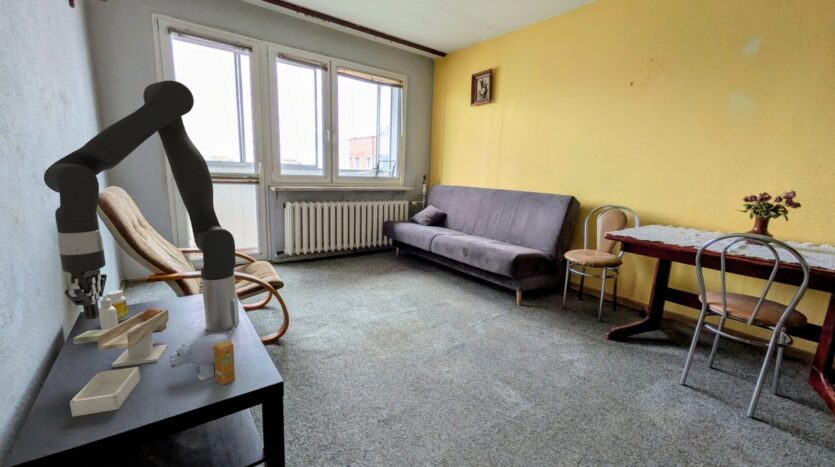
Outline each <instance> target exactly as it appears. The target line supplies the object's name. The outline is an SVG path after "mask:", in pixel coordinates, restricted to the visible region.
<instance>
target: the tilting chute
mask: <svg viewBox="0 0 835 467" xmlns="http://www.w3.org/2000/svg"><path fill="white" fill-rule="evenodd" d="M159 310H160V313H159V314H157V315H156V316H154V317H152V318H151V319H149V320H146V319H145V318H144V316H143V315H144V312H145V311H141V312H139V313H138V314H136V315H133V316H132V317H129V318H127V319H125V320H123V321H122V322H120V323H118V325H117V326H115V327H113V328H111V329H102V330H101V329H93V330H87V331H85V332H83V333H81V334H79V335H77V336H75V337H73V344H74V345H75V344H76V345H77V344H86V343H94V342H95V343H97V351H105V350H106V351H107V350H114V349H115V350H116V349H124V348H127V347H132V346H134V345H135V344H136V343H138V342H139V341H141V340H142V339H143V338H145V337H146V336H148V335H149V334H154V333H162V332H164V331H165V330H166V329H167V323H168V322H169V309H159Z"/></svg>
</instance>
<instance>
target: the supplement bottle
mask: <svg viewBox="0 0 835 467" xmlns="http://www.w3.org/2000/svg"><path fill="white" fill-rule="evenodd" d="M106 296H107V298H110V299H111V304H112V306H113V307H114V308H115V309H116V314H117V320H118V322H121V321H122V322H123V321H125V320H127V319H129V318H128V317H129V311H128V309H129V308H128V303H127V298H126V296H124V292H123V290H122V289H121V290H120V289H117V290H110V291H108V292H106Z"/></svg>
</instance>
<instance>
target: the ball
mask: <svg viewBox="0 0 835 467" xmlns="http://www.w3.org/2000/svg"><path fill="white" fill-rule="evenodd" d="M160 310H161V309H159V308H158V307H148V308H147V309H145V310H144V311H143V312H144V315H143V316H144V318H145V319H146V320H149V319H151V318H152V317H154V316H156V315H157V314H159V313H160Z"/></svg>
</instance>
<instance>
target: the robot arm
mask: <svg viewBox="0 0 835 467" xmlns="http://www.w3.org/2000/svg"><path fill="white" fill-rule="evenodd" d="M142 97H143V102H144V104H143V105H142V106H140V107H139V108H138V109H136V110H134V111H133V112H132V113H130V114H128V115H126V116H125V117H122V118H121V119H120V120H118V121H116V122H114V123H112V124H111V125H109V126H107V127H106V128H104V129H103V130H101V131H100V132H98V133H97V134H96V135H95V136H93V137H92V138H91V139H90V140H88V141H87V142H86V143H85V144H84V145H83V146H81V147H80V148H78V149H76V150H74V151H72V152H70V153H68V154H66V155H64V156H63V157H61V158H60V159H58V160H56V161H55V162H53V164H51V165H50V166H49V167H47V169H46V170H45V171H44V174H43V181H44V183H45V186H46V187H48V188H49V189H50V190H52V191H53V192H55V193H58V194H59V206H58V207H57V208H56V209H55V213H54V214H55V215H54V216H55V217H54V218H55V225H56V230H57V245H58V251H59V257H60V264H61V270H62V271H63V272H65V273H68V274H70V283H71V287H70V289H68V288H67V289H65V290H64V295H65V296H66V297H67V298H68V299H69V300H70V301H71V302H72V303H73V304H74V305H75V306H76V307H77V306H82V308H83V314H84V318H85V320H95V319H96V318H98V317H99V303H98V302H100V298H102V297H103V296H104V290H105V287H106V282H107V278H108V276H107V274H106V273H103V274H102V273H101V269H102V268H104V267H105V266H106V265H107V263H106V256H105V250H104V244H103V243H104V242H103V237H102V234H101V232H100V226H99V217H98V213H97V209H98V205H99V196H100V195H99V194H100V185H99V178H98V177H97V175H99V174H100V173H102V172H103V171H108V170H111V169H113V168H115V167H116V166H118V165H119V164H120V163H121V162H122V161H124V160H125V159H126V158H127V157H128V156H129V155H131V154H132V153H133V152H134V151H135V150H136V149H137V148H139V147H140V146H141V145H142V144H143V143H144V142H146V141H147V140H148V139H149V138H150V137H152V136H154V134H156V133H158V136H159V138H160V142H161V143H162V146H163V150H164V153H165V156H166V157H167V161H168V163H169V167H170V170H171V173H172V176H173V179H174V181H175V184H176V185H175V186H176V188H177V190H178V193H179V195H180V198H181V199H182V200H181V201H182V203H183V205H184V207H185V210H186V212H187V213H188V217H189V221H190V225H191V230H192V235H193V238H194V243H195V246H196V248H197V249H198V250H199V251H201V252H202V261H203V263H202V264H203V266H202V267H201V269H200V276H201V286H202V287H201V288H202V299H203V300H202V301H203V307H204V308H203V310H204V317H205V319H204V320H205V328H206V330H207V331H210V332H223V331H227V330H230V329H233V327H235V328H237V326H238V323H239V321H240V313H239V311H240V310H239V302H238V301H239V300H238V293H237V292H236V281H235V268H236V262H237V261H236V243H235V239H234V236H233V234H232V233H231V232H230V231H229V230H227V229H226V228H224V227H222V226H221V224H220V222H219V218H218V216H217V214H216V212H215V211H216V210H215V207H214V205H215V204H214V185H213V184H214V183H213V179H212V176H211V173H210V169H209V166H208V164H207V162H206V159H205V157H204V156H203V154H202V153H201V152H200V150H199V149H198V147H197V146H196V145H195V144H194V143H193V141H192V140H191V138H190V137H189V136H188V133H187V130H186V127H185V123H184V120H183V116H184V115H187V114H189V113H190V112H191V110H192V109H193V107H194V104H195V98H194V94H193V93H192V91H191V89H189V88H188V86H187V85H185V84H184V83H182V82H180V81H178V80H171V79H169V80H162V81H161V80H160V81H157V82H153V83H150V84H148V85H147V86H146V87H145V89H144V90H143V96H142Z"/></svg>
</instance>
